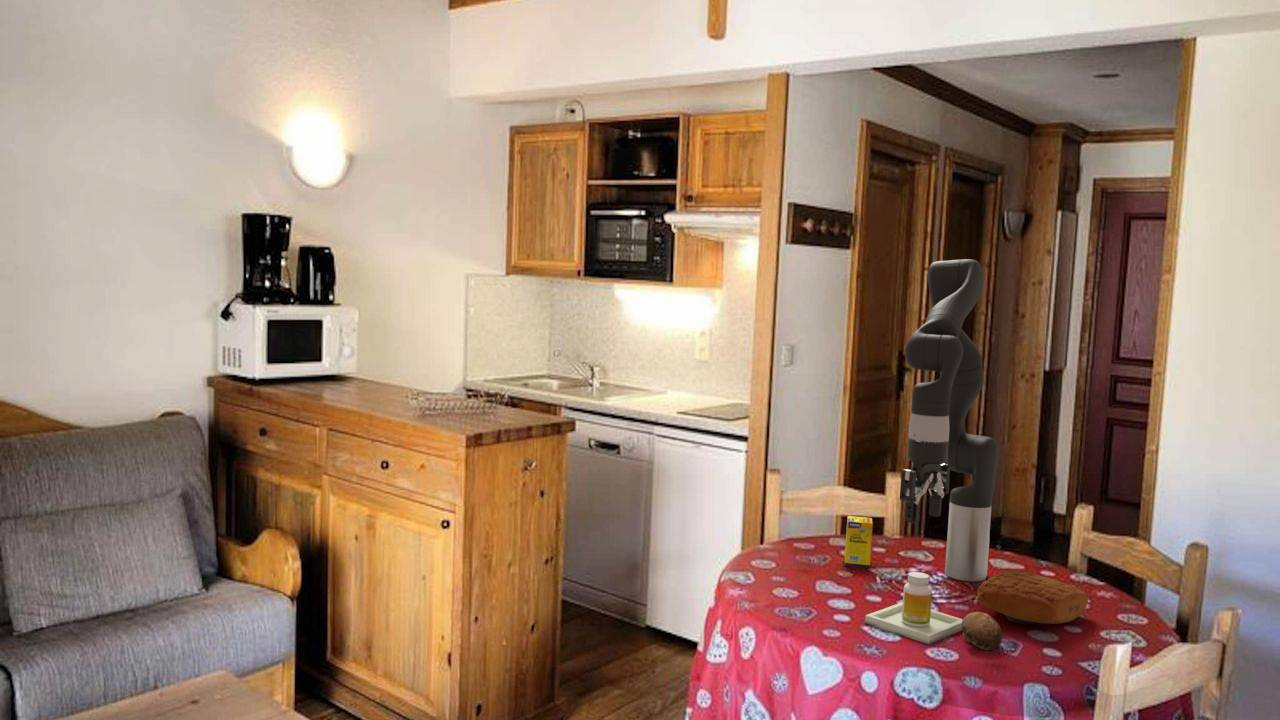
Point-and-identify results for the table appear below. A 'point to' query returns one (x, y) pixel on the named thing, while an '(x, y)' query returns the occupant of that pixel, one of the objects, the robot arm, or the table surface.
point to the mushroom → (981, 630)
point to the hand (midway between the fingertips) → (923, 519)
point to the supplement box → (858, 542)
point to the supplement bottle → (917, 600)
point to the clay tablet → (1032, 597)
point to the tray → (893, 622)
